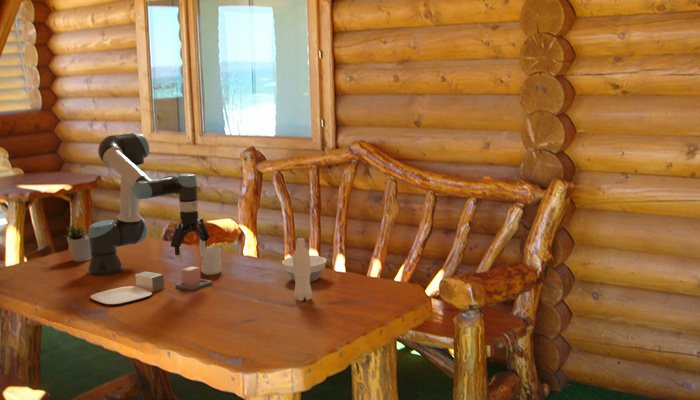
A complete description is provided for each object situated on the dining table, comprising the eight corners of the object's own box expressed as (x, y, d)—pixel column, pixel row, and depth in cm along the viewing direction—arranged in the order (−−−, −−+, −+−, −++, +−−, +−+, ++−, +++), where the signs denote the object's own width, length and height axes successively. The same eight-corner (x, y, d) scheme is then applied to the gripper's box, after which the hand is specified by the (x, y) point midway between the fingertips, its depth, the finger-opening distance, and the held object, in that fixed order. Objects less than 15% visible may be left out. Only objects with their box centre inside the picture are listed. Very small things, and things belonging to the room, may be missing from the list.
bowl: (301, 288, 346) (300, 269, 345) (274, 279, 361) (273, 261, 359) (336, 278, 359) (335, 260, 357) (308, 270, 373) (307, 253, 372)
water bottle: (314, 297, 332) (312, 237, 327) (308, 302, 325) (305, 241, 321) (298, 296, 334) (295, 236, 330) (291, 301, 327) (288, 240, 323)
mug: (225, 272, 375) (223, 249, 373) (208, 276, 369) (206, 252, 367) (211, 268, 384) (210, 244, 382) (195, 271, 378) (193, 248, 377)
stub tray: (175, 287, 353) (175, 284, 352) (196, 281, 362) (196, 277, 362) (191, 291, 347) (191, 287, 347) (212, 284, 356) (212, 280, 356)
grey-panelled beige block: (136, 287, 355) (135, 274, 353) (147, 284, 359) (146, 271, 358) (153, 291, 348) (152, 277, 347) (164, 288, 353) (163, 274, 352)
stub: (182, 285, 354) (181, 269, 353) (192, 281, 359) (191, 266, 358) (190, 286, 351) (189, 270, 350) (200, 283, 356) (199, 267, 355)
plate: (131, 288, 356) (131, 284, 356) (158, 297, 341) (157, 293, 341) (84, 299, 341) (84, 295, 341) (110, 309, 326) (110, 305, 326)
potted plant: (74, 256, 416) (70, 218, 412) (99, 256, 414) (96, 218, 410) (62, 263, 403) (58, 223, 400) (88, 263, 402) (84, 223, 398)
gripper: (172, 216, 337) (175, 266, 341) (216, 206, 356) (218, 253, 360) (160, 214, 341) (163, 263, 345) (204, 204, 361) (206, 251, 365)
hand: (191, 258), depth 353 cm, fingers open, 13 cm apart
